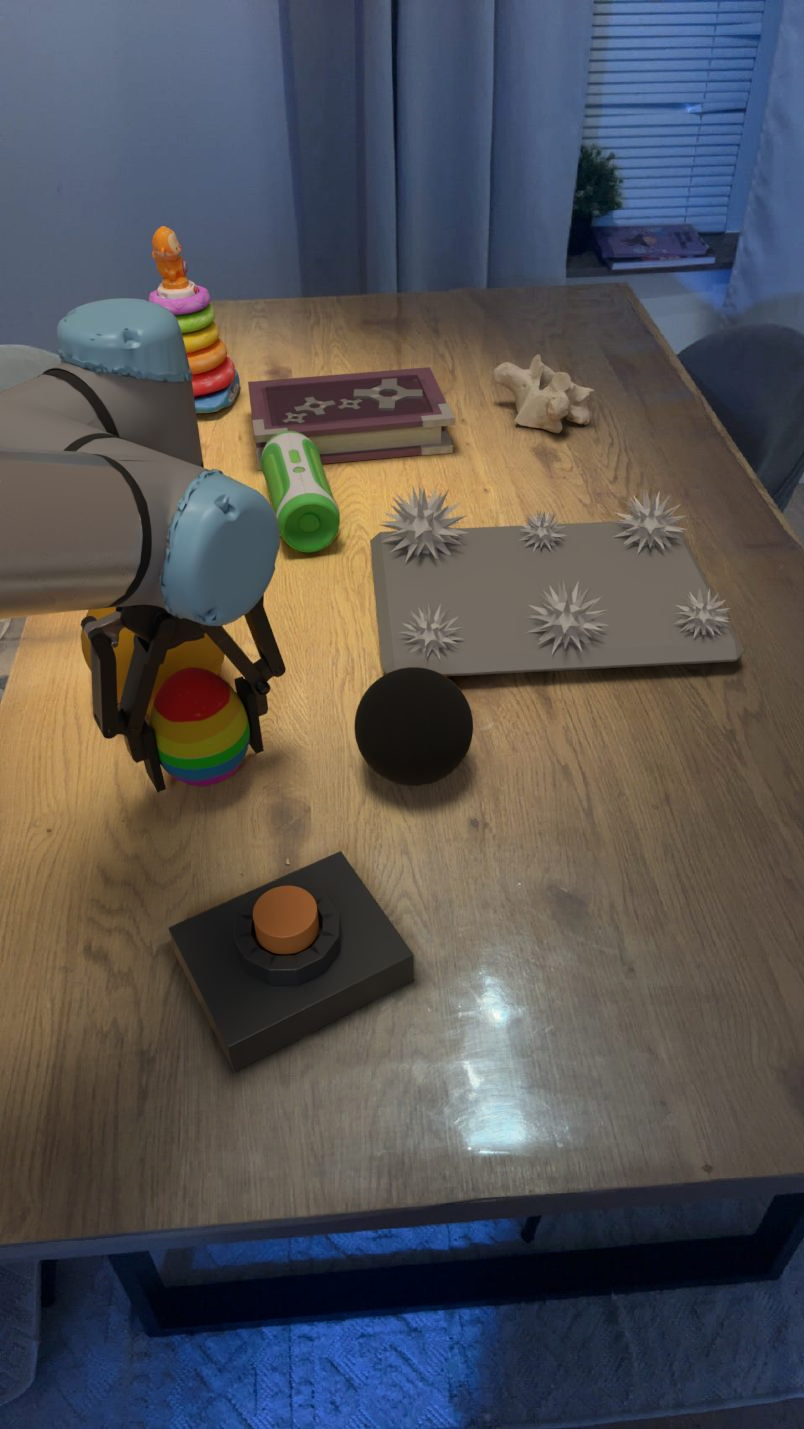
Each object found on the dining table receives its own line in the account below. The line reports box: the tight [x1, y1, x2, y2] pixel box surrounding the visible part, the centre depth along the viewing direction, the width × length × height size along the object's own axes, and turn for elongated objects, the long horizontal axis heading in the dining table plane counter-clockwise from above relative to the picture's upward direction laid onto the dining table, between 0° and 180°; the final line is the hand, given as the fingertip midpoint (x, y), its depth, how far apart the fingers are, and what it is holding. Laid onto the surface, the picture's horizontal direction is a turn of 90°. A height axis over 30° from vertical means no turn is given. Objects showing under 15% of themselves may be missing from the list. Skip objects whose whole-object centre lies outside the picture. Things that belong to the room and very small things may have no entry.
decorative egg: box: [148, 667, 250, 787], centre depth 83 cm, size 8×8×10 cm
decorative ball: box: [353, 667, 474, 787], centre depth 85 cm, size 10×10×10 cm
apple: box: [80, 607, 226, 716], centre depth 93 cm, size 13×13×11 cm
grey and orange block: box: [167, 850, 415, 1073], centre depth 72 cm, size 14×11×5 cm
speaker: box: [261, 431, 341, 553], centre depth 118 cm, size 18×7×8 cm, turn 13°
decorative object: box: [492, 353, 595, 434], centre depth 136 cm, size 9×14×8 cm, turn 47°
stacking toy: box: [148, 225, 241, 414], centre depth 137 cm, size 14×13×23 cm
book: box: [247, 366, 456, 471], centre depth 134 cm, size 25×16×5 cm, turn 100°
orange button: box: [253, 886, 319, 955], centre depth 70 cm, size 4×4×2 cm
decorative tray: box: [369, 482, 745, 678], centre depth 103 cm, size 35×26×10 cm
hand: (205, 761), depth 87 cm, fingers closed on decorative egg, 8 cm apart
